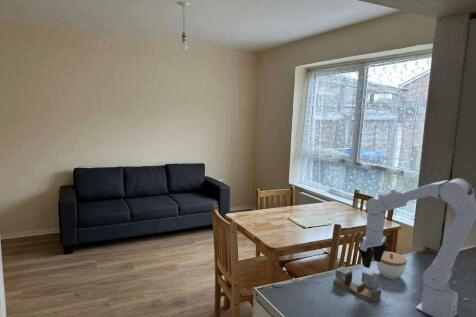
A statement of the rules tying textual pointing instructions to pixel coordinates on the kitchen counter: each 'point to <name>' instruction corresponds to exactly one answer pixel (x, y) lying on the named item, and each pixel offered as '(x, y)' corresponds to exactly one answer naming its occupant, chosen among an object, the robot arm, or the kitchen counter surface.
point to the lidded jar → (392, 265)
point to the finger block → (370, 278)
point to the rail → (354, 285)
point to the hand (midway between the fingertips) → (371, 263)
